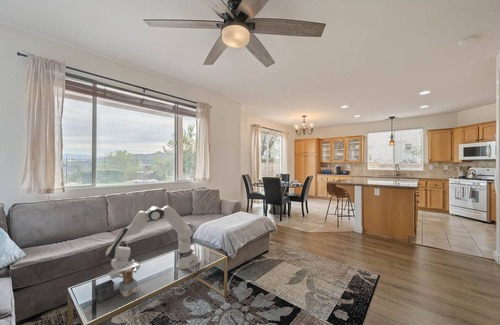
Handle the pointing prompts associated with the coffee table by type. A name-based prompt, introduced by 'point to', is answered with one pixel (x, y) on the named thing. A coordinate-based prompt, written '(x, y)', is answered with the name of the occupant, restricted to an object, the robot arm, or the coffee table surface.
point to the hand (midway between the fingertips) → (128, 273)
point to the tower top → (128, 285)
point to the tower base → (128, 292)
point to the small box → (104, 291)
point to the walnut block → (127, 276)
